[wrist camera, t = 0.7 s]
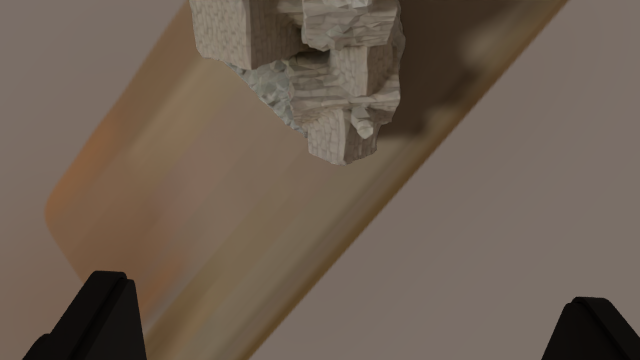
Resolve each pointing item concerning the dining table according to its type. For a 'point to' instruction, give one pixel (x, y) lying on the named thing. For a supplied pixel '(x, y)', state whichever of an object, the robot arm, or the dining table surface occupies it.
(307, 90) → the grey rough lump
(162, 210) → the dining table surface
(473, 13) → the dining table surface
